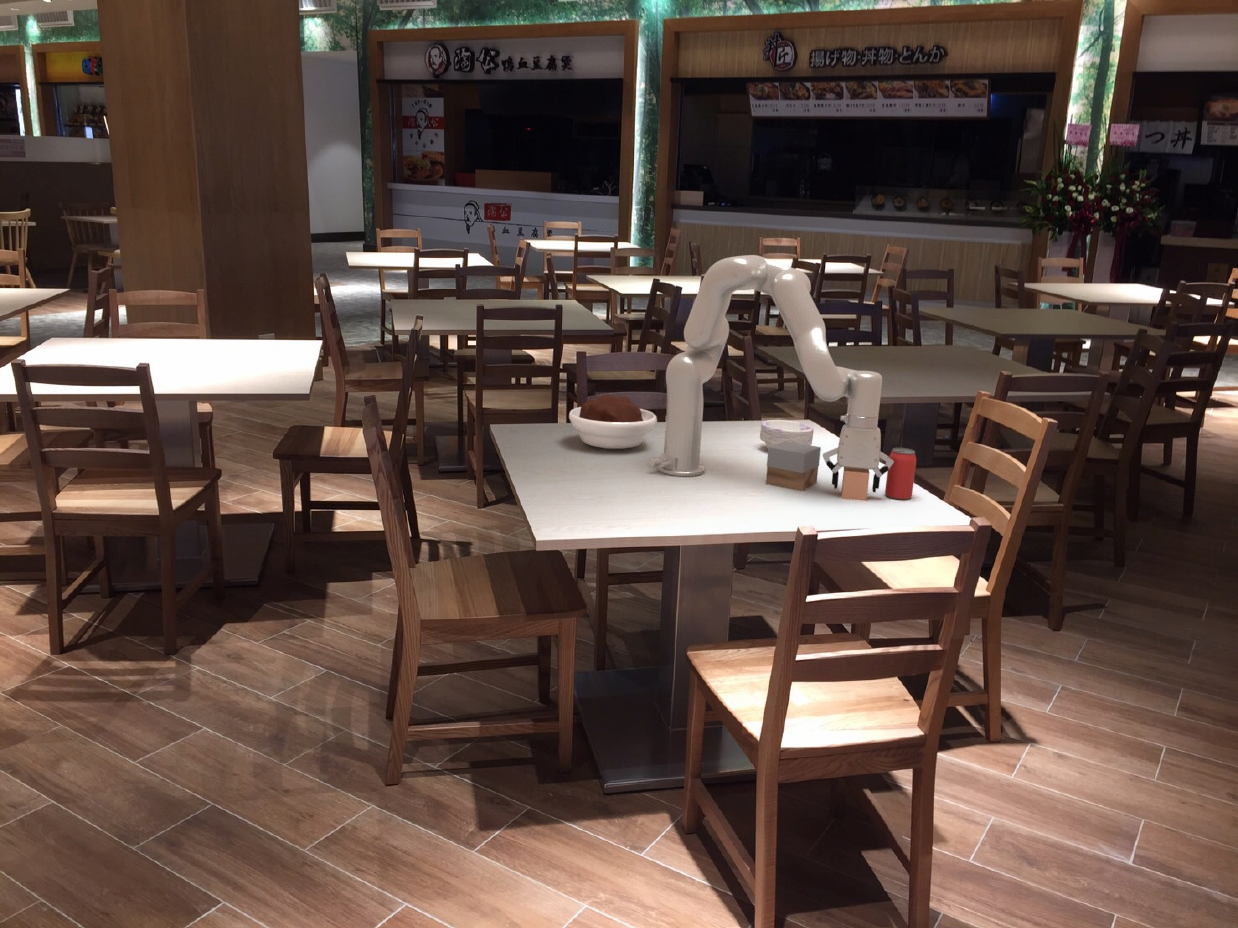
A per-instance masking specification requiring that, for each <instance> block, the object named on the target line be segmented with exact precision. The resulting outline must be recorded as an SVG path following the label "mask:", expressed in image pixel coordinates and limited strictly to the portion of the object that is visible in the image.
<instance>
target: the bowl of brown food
mask: <svg viewBox="0 0 1238 928" xmlns="http://www.w3.org/2000/svg"><path fill="white" fill-rule="evenodd" d="M568 418H569V421H570V423H571V425H572V426H573V427H574V429H576V431H577V433H578V436H579V438H580V439H581V440H580V441H582V442H583V443H584V444H587V445H589V446H590V447H591V446H592V447H595V448H602V449H606V450H621V449H622V450H623V449H630V448H634V447H637V446H639V445H641V444H643V441H644V439H645V437H646V435H647V434H648V433H649V432H650V431H651V430H652V429H653V428H654V426H655V424H656V423H657V416H656V414H654V412H652V411H650V410H646V409H643V408H640V407H638V406H637V405H636V404H634V403H632V402H631V400H630V398H629V397H628V396H614V395H611V394H602V395H600V396H599V397H598V398H591V397H590V398H588V399H587V400H586V401H585V402H584V403H582V405H581V406H579V407H575V408H573V409H571V410H570V411H569V413H568Z"/></svg>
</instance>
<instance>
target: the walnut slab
mask: <svg viewBox="0 0 1238 928" xmlns="http://www.w3.org/2000/svg"><path fill="white" fill-rule="evenodd" d="M818 474H819V466H818V467H816V468H813V469H811V470H809V471H807V472H805V473H799V472H794V471H789V470H784V469H779V468H774V467H769V466H766V478H765V479H766V480H765V485H768V486H773V487H778V488H783V489H789V490H794V491H799V492H804V491H805V490H808V489H809V488H810V487H812V486H814V485H816V484H818V483H817V482H818Z"/></svg>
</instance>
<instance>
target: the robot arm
mask: <svg viewBox="0 0 1238 928" xmlns="http://www.w3.org/2000/svg"><path fill="white" fill-rule="evenodd" d="M811 287H812V285H811V281H810V278H809V277H808V275H807V274H806V273H804V272H803V271H801V270H800V269H797V268H793V267H790V266H788V265H786V264H782V263H780V262H777V261H774V260H771V259H769V258H766V257H763V256H760V255H757V254H748V255H737V256H730V257H726V258H723V259H720V260H718V261H716V262H715V263H713V264H712V265H711V266H710V267H709V268H708V269H707V271H706V272H705V274H704V277H703V278H702V280H701V284H700V286H699V289H698V292H697V294H696V297H695V299H694V302H693V305H692V307H691V310H690V313H689V315H688V318H687V320H686V323H685V326H684V329H683V338H684V341H685V343H686V344H687V347H686V349H685V351H683V352H679V353H678V354H676V355H675V356H674V357H672V358H671V360H670V361H669V363H668V365H667V368H666V372H665V381H666V382H665V383H666V409H665V410H666V411H665V412H666V414H665V415H666V416H665V430H664V447H663V448H664V449H663V450H664V451H663V453H661V454H660V457H658V458H654V459H652V458H651V459H650V460H649V466H650V467H652V468H653V467H657V468H656V469H657V471H658V472H660V473H662V474H666V475H670V476H677V477H694V476H695V477H696V476H700V475H703V474H704V473H705V471H706V467H705V466H704V465H703V464H700V460H701V459H700V458H701V445H702V444H701V441H702V428H703V415H704V414H703V413H704V391H703V384H704V383H707V382H708V381H709V380H711V378H712V377H713V376H714V374H715V372H716V370H717V367H718V366H719V363H720V359H721V357H722V355H723V351H724V349H725V347H726V344H727V340H728V337H729V335H730V334H729V333H730V324H729V322H728V319H727V318H726V314H727V311H728V309H729V306H730V303H731V300H732V299H731V298H732V295H733V293H734V292H737V291H750V290H755V291H757V292H760V293H763V294H765V295H767V296H771V298H772V301H773V302H774V304H775V307H776V308H777V311H779V312H778V313H779V314H780V317H781V318H782V320H783V322H784V324H785V326H786V328H787V330H788V332H789V334H790V337H791V338H792V341H793V344H794V349H795V351H796V354H797V358H798V361H799V363H800V365H801V368H802V371H803V372H804V374H805V377H806V379H807V381H808V383H809V384H810V386H811V389H812V390H813V393H814V394H815V395H816V396H817V397H818V398H819V399H820V400H822V401H824V402H836V401H838V400H839V399H840V398H843V397H848V400H847V401H848V402H847V411H846V414H844V415H840V422H843V423H845V424H843V426H842V428H841V431H840V435H839V439H838V445H837V447H835V448H833V449H831V450H828V451H826V452H824V453H823V454H822V458H823V460H824V463H825V464H826V466H827V467H828V468H829V470H830V471H831V472H832V476H831V485H833V486H834V487H833V489H834V490H837V489H838V484H839V470H840V469H841V468H844V467H848V468H858V469H869V470H872V472H874V474H873V480H872V487H871V489H872V490H871V491H872V493H876V491H877V489H878V490H879V489H880V481H881V477H882V476H883V475H884V474H887V471H888V470H889V468H890V467H891V466H892V464H893V463H894V460H893V459H892V458H890V455H887V454H885V453H884V452H882V451H881V444H882V443H881V440H882V439H881V429H880V427H878V424H879V423H878V422H879V414H880V406H881V405H880V404H881V395H882V388H883V387H882V386H883V377H882V375H881V373H879V372H876V371H872V370H855V369H851V368H848V367H847V368H846V367H843V366H836V364H835V363H834V360H833V358H832V356H831V353H830V352H829V348H828V344H827V337H826V332H827V331H826V324H825V321H824V320H823V317H822V315H821V314H820V311H819V309H818V308H817V306H816V303H815V302H814V299H813V297H812V295H811V294H810V293H811V290H812V288H811ZM835 455H836V463H835V464H834V463H833V461H831V459H830V458H831V457H832V456H835ZM880 459H881V460H883V461H885V462H886V463H885V464H884V465H883V466H882V467H880V468H879V466H880Z"/></svg>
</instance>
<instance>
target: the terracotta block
mask: <svg viewBox="0 0 1238 928" xmlns="http://www.w3.org/2000/svg"><path fill="white" fill-rule="evenodd" d="M842 473H843V475H842V485H841V491H840V495H841V499H844V500H855V501H861V502H862V501H864V502H867V498H868V491H869V481H870V469H858V468H848V467H843V472H842Z"/></svg>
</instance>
